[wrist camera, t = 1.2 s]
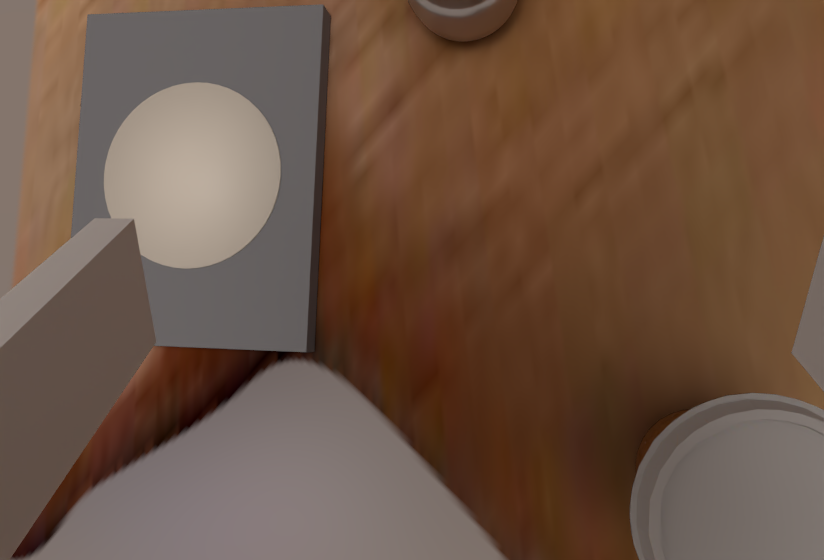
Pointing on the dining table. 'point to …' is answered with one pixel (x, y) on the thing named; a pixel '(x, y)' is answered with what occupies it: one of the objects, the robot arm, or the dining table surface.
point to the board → (212, 165)
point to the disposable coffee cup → (732, 482)
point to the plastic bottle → (463, 17)
